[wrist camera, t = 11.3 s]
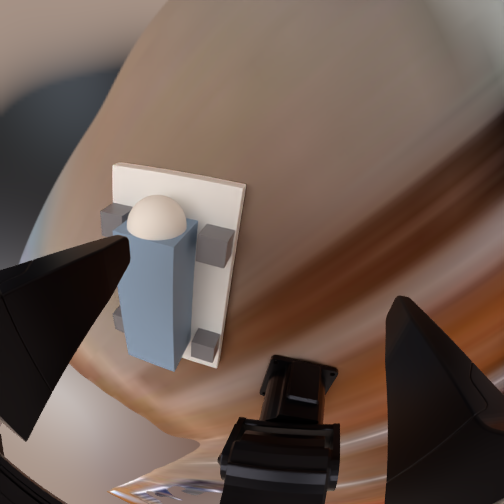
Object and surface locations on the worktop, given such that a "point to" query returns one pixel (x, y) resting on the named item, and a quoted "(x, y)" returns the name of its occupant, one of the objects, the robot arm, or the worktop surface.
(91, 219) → the worktop surface
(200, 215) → the cradle
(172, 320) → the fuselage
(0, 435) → the robot arm
